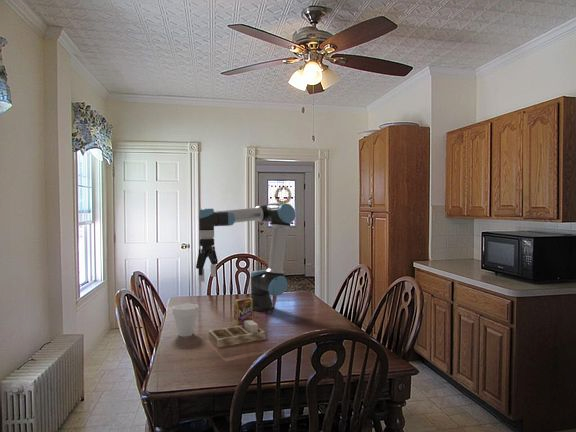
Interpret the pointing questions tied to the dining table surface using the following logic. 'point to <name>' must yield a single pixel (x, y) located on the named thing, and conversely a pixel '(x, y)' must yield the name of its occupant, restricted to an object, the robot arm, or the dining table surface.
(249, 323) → the white rectangular carton
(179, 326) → the cup
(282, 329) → the dining table surface
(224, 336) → the rack
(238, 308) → the candy box
